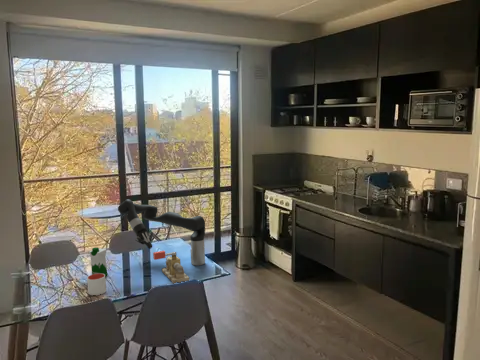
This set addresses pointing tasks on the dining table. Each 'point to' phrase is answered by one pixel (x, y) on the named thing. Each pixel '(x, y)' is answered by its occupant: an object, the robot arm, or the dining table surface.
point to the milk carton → (98, 261)
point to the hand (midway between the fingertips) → (150, 247)
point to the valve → (174, 270)
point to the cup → (96, 284)
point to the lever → (162, 254)
